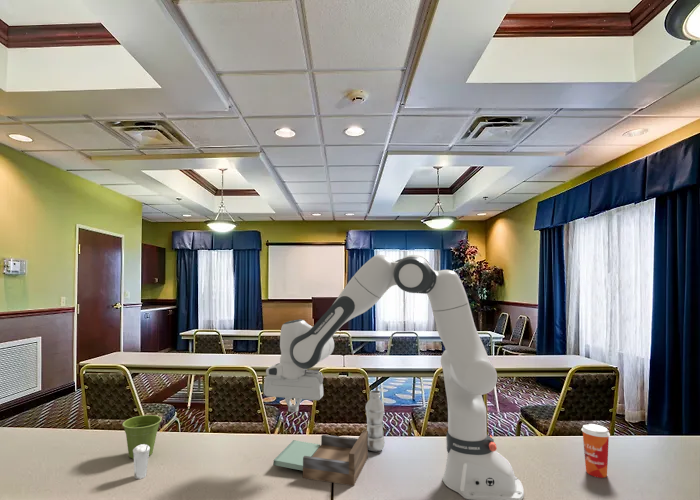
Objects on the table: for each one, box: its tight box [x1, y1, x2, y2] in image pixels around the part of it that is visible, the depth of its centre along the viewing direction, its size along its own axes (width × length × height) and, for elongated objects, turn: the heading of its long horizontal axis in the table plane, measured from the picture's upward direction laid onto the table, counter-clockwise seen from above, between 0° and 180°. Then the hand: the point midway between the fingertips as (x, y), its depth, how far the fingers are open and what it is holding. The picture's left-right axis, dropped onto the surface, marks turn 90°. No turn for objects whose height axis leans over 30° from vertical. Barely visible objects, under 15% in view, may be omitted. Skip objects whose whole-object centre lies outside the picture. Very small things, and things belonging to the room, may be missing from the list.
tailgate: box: [273, 439, 321, 472], centre depth 133 cm, size 2×16×10 cm
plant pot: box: [121, 414, 163, 460], centre depth 137 cm, size 12×12×11 cm
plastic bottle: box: [365, 389, 386, 452], centre depth 143 cm, size 6×7×20 cm
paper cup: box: [581, 423, 611, 479], centre depth 127 cm, size 8×8×14 cm
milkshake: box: [133, 444, 150, 480], centre depth 123 cm, size 4×5×10 cm
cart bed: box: [302, 430, 369, 487], centre depth 129 cm, size 16×18×9 cm
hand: (293, 411), depth 134 cm, fingers closed
